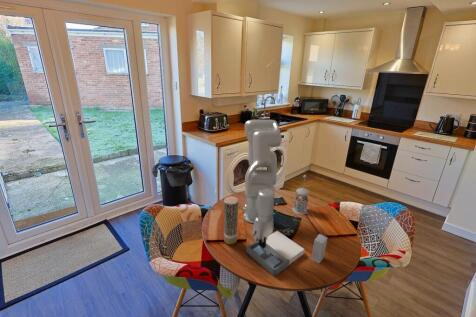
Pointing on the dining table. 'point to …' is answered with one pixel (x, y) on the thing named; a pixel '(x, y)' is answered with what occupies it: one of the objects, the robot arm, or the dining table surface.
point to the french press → (298, 207)
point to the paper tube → (230, 219)
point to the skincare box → (319, 248)
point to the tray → (262, 261)
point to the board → (283, 247)
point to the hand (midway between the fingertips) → (262, 246)
